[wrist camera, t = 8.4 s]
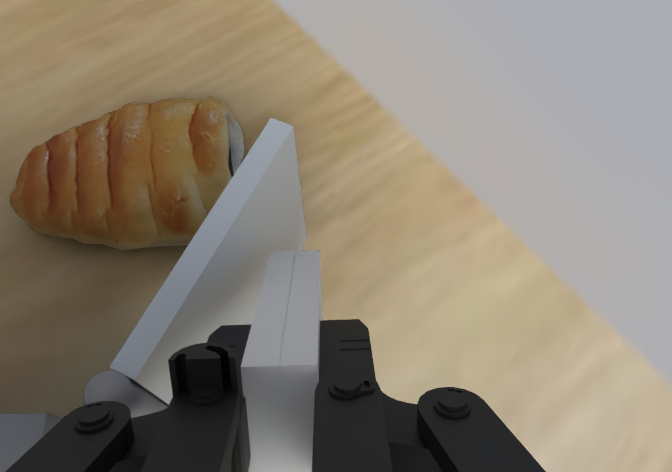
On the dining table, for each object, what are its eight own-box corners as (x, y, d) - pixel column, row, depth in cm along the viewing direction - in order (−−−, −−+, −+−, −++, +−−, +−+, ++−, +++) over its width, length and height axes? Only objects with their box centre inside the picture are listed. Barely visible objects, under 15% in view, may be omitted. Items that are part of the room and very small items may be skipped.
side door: (310, 242, 23) (297, 124, 16) (191, 459, 19) (112, 423, 13) (281, 229, 23) (256, 109, 16) (158, 441, 20) (63, 397, 13)
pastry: (25, 280, 24) (-28, 238, 20) (36, 144, 27) (-9, 87, 23) (257, 246, 24) (243, 199, 21) (242, 117, 27) (228, 57, 24)
